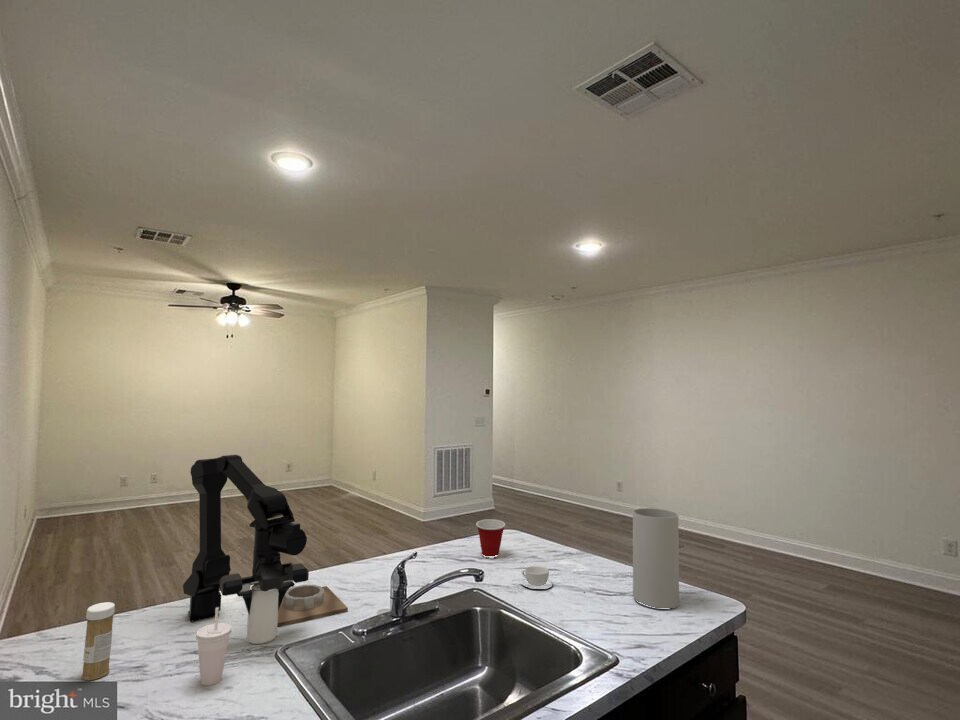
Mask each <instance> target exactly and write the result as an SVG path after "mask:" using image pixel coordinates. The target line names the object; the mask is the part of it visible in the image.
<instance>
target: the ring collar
mask: <svg viewBox="0 0 960 720" xmlns="http://www.w3.org/2000/svg"><path fill="white" fill-rule="evenodd" d="M322 587H323V586H321V585H317V584H301V585H297V586H295V585H294V586H293V587H290V588H289V589H288V590H287V592H286V594H285V596H284V600H283V606H284V607H285V609H288V610H292V611H305V610H310V609H314V608H316V607H318V606H320V605H322V603H323V601H324V589H323V588H322Z"/></svg>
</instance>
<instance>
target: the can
mask: <svg viewBox="0 0 960 720" xmlns="http://www.w3.org/2000/svg"><path fill="white" fill-rule="evenodd" d="M250 589H251V591H252V601H251V607H250V614H249V613H248V612H247V625H246V626H247V628H246V629H247V630H246V631H247V634H246V640H247V642H248V643H249V644H252V645H255V646H256V645H263V644H264V645H265V644H268V643H270V642H272V641H273V640H275V639H276V637H277V635H278V628H277V623H278V596H279V590H278V589H271V590H268V591H261V590H260V585H259V584H254V585H251V586H250Z"/></svg>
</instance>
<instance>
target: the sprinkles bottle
mask: <svg viewBox="0 0 960 720" xmlns="http://www.w3.org/2000/svg"><path fill="white" fill-rule="evenodd" d="M115 605H116V604H115V603H114V602H111V601H107V602H106V601H105V602H100V603H96V604H92V605H90V606H89V607H88V608H87V610H86V614H85V615H86V631H85V639H84V651H83V664H82V674H81V679H82V680H84V681H94V680H98V679H100V678H103V677H105V676H107V675H108V674H109V673H110V660H111V658H110V657H111V651H112V641H113V640H112V639H113V624H114V623H113V622H114V616H115V611H116V606H115Z"/></svg>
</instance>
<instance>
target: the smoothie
mask: <svg viewBox="0 0 960 720" xmlns="http://www.w3.org/2000/svg"><path fill="white" fill-rule="evenodd" d="M218 612H220V611H219V608H218V607H217V608H216V610H215V617H214V623H211V624H207V625H204V626H202V627H200V628H199V629H198V630H197V631H196V635H195V640H196V641H197V648H198V651H197V652H198V665H199V666H198V667H199V676H200V677H199V679H200V684H201V685H203V686H213V685H215V684H217V683H219V682H220V681H222V677H223V672H224V666H225V662H226V657H227V651H228V645H229V640H230V635H231V634H232V632H233V631H232V627H233V626H232V625H231V624H229V623H226V622H219V616H218Z"/></svg>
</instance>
